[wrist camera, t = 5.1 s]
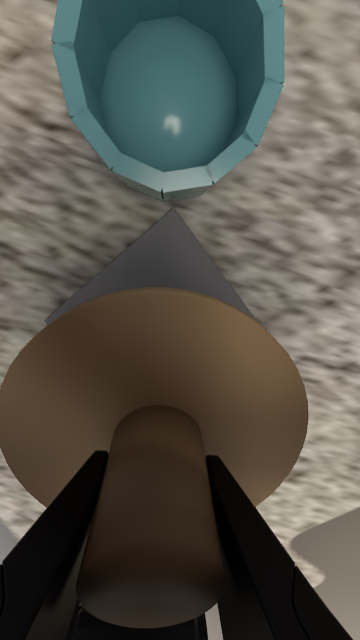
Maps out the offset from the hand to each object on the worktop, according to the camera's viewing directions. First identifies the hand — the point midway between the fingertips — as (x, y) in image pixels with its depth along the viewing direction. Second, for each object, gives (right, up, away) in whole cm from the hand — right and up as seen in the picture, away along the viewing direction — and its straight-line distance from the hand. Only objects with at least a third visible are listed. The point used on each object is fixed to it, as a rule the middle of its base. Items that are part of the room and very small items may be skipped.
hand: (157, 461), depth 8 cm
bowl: (0, +17, +6) cm, 18 cm away
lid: (0, +1, +2) cm, 2 cm away
